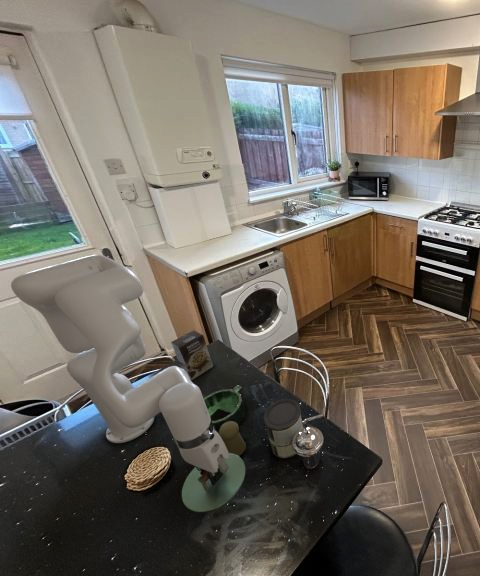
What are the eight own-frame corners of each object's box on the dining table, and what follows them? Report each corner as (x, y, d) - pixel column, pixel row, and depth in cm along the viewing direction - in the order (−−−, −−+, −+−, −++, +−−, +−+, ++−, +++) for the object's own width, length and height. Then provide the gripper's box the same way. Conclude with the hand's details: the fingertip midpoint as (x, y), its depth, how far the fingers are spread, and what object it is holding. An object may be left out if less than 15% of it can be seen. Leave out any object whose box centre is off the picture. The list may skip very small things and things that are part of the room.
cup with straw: (305, 445, 96) (297, 400, 86) (332, 453, 94) (327, 408, 84) (291, 472, 89) (281, 426, 79) (319, 481, 87) (313, 435, 77)
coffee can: (264, 453, 94) (255, 422, 87) (284, 425, 102) (278, 395, 96) (293, 464, 91) (286, 433, 84) (311, 434, 99) (307, 404, 93)
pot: (183, 436, 98) (177, 423, 95) (227, 392, 114) (223, 379, 111) (218, 449, 95) (213, 435, 92) (258, 402, 110) (255, 389, 107)
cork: (238, 461, 91) (230, 437, 86) (220, 457, 92) (211, 433, 87) (250, 443, 97) (243, 419, 91) (233, 439, 98) (225, 415, 92)
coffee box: (192, 380, 119) (179, 347, 111) (182, 374, 122) (169, 341, 114) (214, 366, 126) (203, 334, 118) (204, 360, 129) (193, 329, 121)
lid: (168, 501, 76) (160, 486, 73) (214, 448, 88) (208, 433, 85) (217, 523, 72) (210, 508, 69) (257, 465, 84) (253, 450, 81)
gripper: (234, 427, 71) (249, 473, 80) (181, 408, 75) (200, 454, 84) (209, 457, 65) (228, 504, 74) (152, 434, 69) (176, 481, 78)
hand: (213, 477), depth 79 cm, fingers closed on lid
